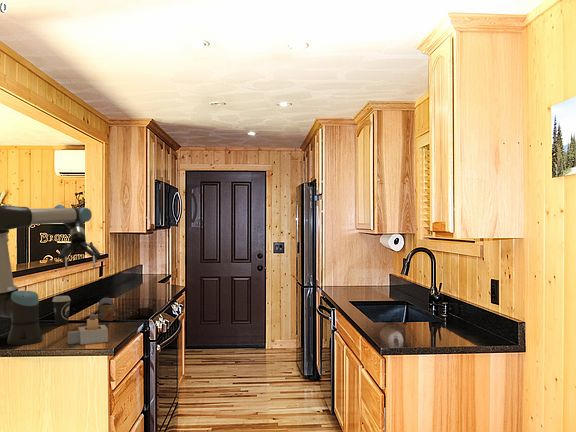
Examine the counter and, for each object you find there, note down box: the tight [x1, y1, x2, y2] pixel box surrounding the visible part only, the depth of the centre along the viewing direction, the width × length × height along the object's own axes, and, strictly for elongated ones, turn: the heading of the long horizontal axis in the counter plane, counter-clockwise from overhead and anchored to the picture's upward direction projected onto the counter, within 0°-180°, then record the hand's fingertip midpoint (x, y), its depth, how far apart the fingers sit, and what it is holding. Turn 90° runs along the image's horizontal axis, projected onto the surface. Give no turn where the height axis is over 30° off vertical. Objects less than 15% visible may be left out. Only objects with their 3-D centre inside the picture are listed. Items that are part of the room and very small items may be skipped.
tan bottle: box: [86, 313, 99, 330], centre depth 262 cm, size 5×5×12 cm
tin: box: [96, 305, 120, 322], centre depth 315 cm, size 15×3×8 cm, turn 60°
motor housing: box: [67, 324, 109, 346], centre depth 261 cm, size 12×17×6 cm
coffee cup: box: [51, 295, 72, 326], centre depth 305 cm, size 10×10×15 cm
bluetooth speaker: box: [97, 296, 115, 312], centre depth 329 cm, size 23×9×10 cm, turn 17°
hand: (80, 267), depth 285 cm, fingers open, 13 cm apart
